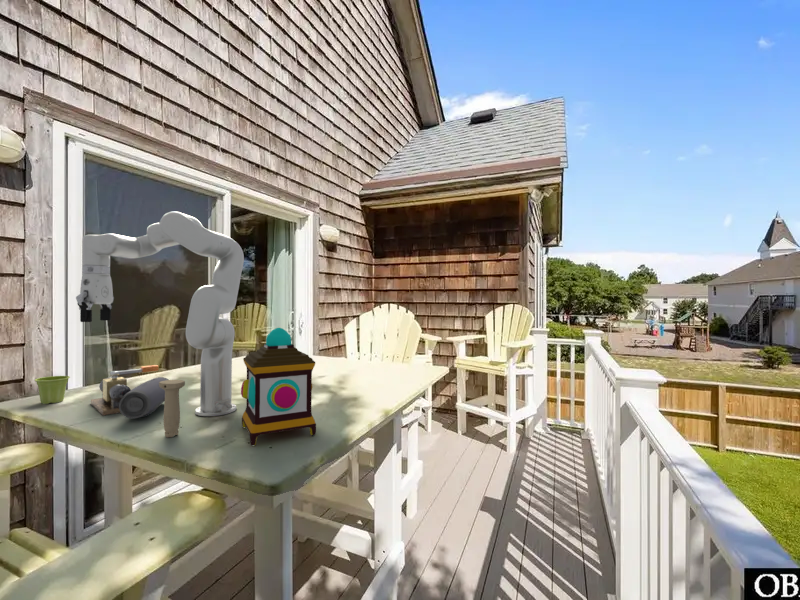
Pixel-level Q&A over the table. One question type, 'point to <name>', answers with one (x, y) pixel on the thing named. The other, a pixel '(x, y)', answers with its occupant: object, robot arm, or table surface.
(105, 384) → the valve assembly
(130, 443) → the table surface
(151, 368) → the lever
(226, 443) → the table surface
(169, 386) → the handle
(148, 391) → the bluetooth speaker
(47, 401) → the plant pot
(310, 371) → the decorative lantern
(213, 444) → the table surface
